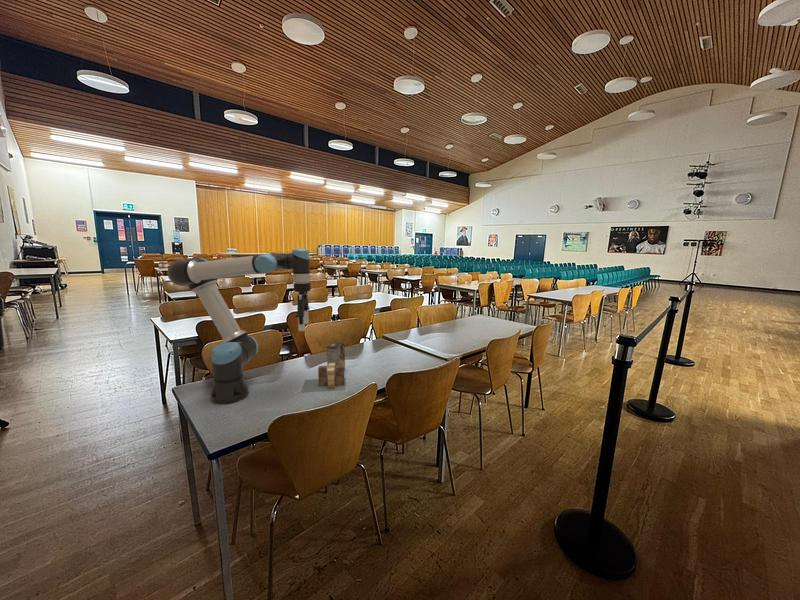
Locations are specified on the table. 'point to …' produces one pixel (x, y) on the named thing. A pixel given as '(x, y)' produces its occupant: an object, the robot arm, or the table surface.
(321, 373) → the brown u-shaped block
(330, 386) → the oak plate
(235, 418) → the table surface
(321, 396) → the table surface
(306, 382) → the mat
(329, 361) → the coffee box
